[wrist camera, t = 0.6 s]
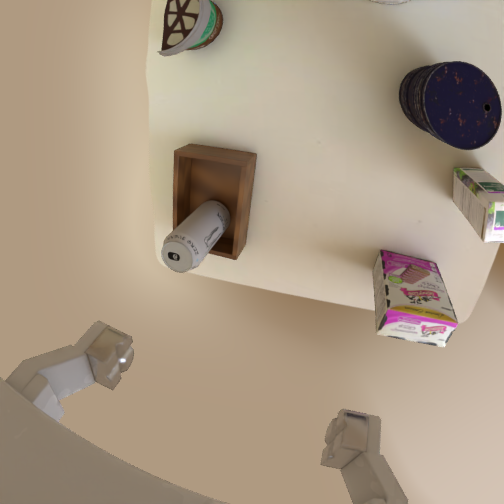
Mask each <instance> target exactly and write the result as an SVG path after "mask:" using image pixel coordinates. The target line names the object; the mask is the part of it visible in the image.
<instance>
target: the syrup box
mask: <svg viewBox="0 0 504 504" xmlns="http://www.w3.org/2000/svg"><path fill="white" fill-rule="evenodd" d="M453 202H454V203H455V204H456V206H457V207H458V208H459V209H460V211H461V212H462V213H463V215H464V216H465V217H466V219H467V220H468V221H469V223H470V224H471V225H472V227H473V228H474V230H475V231H476V232H477V234H478V235H479V237H480V238H481V240H482V241H483V242H484V243H488V242H494V243H504V185H503V184H501V183H500V182H499V181H498V180H497V179H495V178H494V177H493V176H491V175H490V174H489V173H487V172H486V171H485V170H484V169H479V168H454V186H453Z"/></svg>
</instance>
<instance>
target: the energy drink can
mask: <svg viewBox="0 0 504 504" xmlns="http://www.w3.org/2000/svg"><path fill="white" fill-rule="evenodd" d="M229 224H230V214H229V211H228V210H227V208H226V207H225V206H224V205H223V204H221V203H219V202H217V201H212V200H211V201H206V202H204V203H203V204H201V205H200V206H199V207H198V208H197V209H196V210H195V211H194V212H193V213H192V214H190V215H189V216H188V217H187V218H186V219H185V220H184V221H183V222H182V223H181V224H180V225H179V226H178V227H176V228H175V229H174V230H173V231H172V232H171V233H170V234H169V235H168V236H167V237H166V238H165V240H164V244H163V248H162V252H161V254H162V259H163V261H164V263H165V264H166V265H167V266H168V267H169V268H170V269H171V270H173V271H175V272H179V273H183V272H187V271H188V270H192V269H194V268H196V267H197V266H198V265H199V264H200V263H201V261H202V260H203V259H204V257H205V256H206V255H207V254H208V252H209V251H210V250H211V248H212V247H213V246H214V245H215V243H216V242H217V241H218V239H219V238H220V237H221V236H222V234H223V233H224V232H225V230H226V229H227V228H228V227H229Z"/></svg>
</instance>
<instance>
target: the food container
mask: <svg viewBox="0 0 504 504" xmlns="http://www.w3.org/2000/svg"><path fill="white" fill-rule="evenodd" d="M222 25H223V17H222V13H221V11H220V9H219V7H218V6H217V5H216V4H214V3H213V2H212V1H211V0H168V1H167V5H166V9H165V14H164V32H163V41H162V50H161V51H158V52H159V54H160V55H162V56H171V55H175V54H178V53H180V52H183V51H184V50H196V49H199V48H202V47H205V46H207V45H208V44H210V43H211V42H213V41H214V40H215V38H216V37H217V36H218V35H219V33H220V31H221V28H222Z"/></svg>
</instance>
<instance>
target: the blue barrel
mask: <svg viewBox="0 0 504 504" xmlns="http://www.w3.org/2000/svg"><path fill="white" fill-rule="evenodd" d="M399 101H400V105H401V108H402V110H403V112H404V114H405V115H406V117H407V118H408V119H409V120H410V121H411V122H412V123H413V124H415V125H416V126H417V127H419V128H420V129H422V130H423V131H426V132H428V133H430V134H431V135H432V136H434V137H435V138H437V139H439V140H441V141H442V142H444V143H447V144H449V145H451V146H453V147H455V148H458V149H462V150H474V149H478V148H480V147H483V146H484V145H486V144H487V143H489V142H490V141H491V140H492V139H493V137H494V136H495V134H496V133H497V131H498V129H499V126H500V122H501V116H502V108H501V101H500V97H499V94H498V91H497V89H496V87H495V85H494V84H493V82H492V81H491V79H490V78H489V77H488V76H487V75H486V74H485V73H484V72H483V71H482V70H480V69H479V68H478V67H476V66H474V65H472V64H469V63H466V62H461V61H453V62H443V63H438V64H434V65H431V66H424V67H420V68H417V69H415V70H413V71H411V72H410V73H408V74H407V75H406V76H405V78H404V79H403V81H402V83H401V85H400V89H399Z"/></svg>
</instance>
